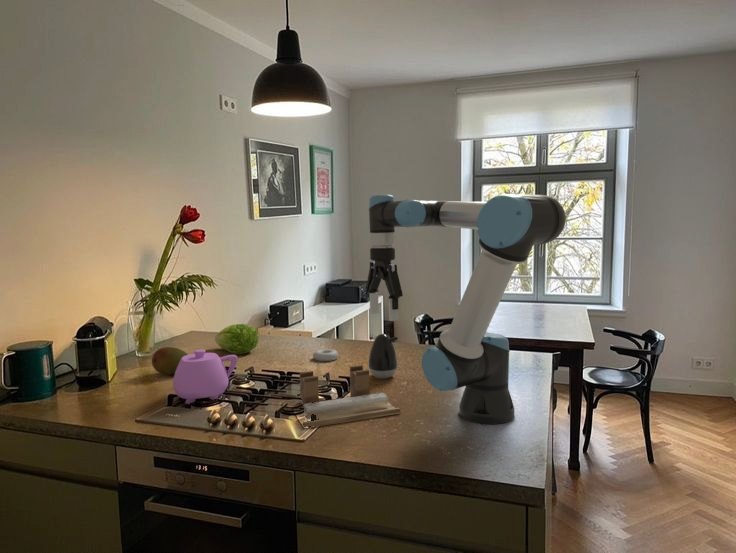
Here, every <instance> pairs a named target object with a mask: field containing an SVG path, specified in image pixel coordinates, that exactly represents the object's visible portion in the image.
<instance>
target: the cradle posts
mask: <svg viewBox="0 0 736 553" xmlns="http://www.w3.org/2000/svg"><path fill="white" fill-rule="evenodd" d="M349 383H350V384H349V389H350V390H349V394H350V397H356V396H363V395H370V369H364V365H362V364H360V365H353V366H351V365H350V366H349ZM319 391H320V390H319V376H318V375H314V371H313V370H310V371H303V372H299V392H300V393H299V394H300V396H299V397H300V398H301V399H302V402H303V404H306V403H312V402H314V401H319V400H320V399H319V398H320V393H319ZM319 402H320V401H319Z"/></svg>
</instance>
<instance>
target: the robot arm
mask: <svg viewBox="0 0 736 553" xmlns="http://www.w3.org/2000/svg"><path fill="white" fill-rule="evenodd" d="M368 214H369V215H368V217H369V246H370V247H371V248H370V249H369V252H370V254H369V256H370V257H369V258H370V260H371V261H370V262H369V270H368V276H367V282H366V287H365V290H366V291H368V292H367V293H369V314H370V315H375V314H379V313H380V310H379V304H380V303H379V292H380V291H379V287H380V284H381V282H382V281H384V284H385V286H386V288H387V292H388V293H389V296H388V315H389V316H388V321H393V322H394V321H399V316H400V315H399V314H400V313H399V299H400V297H403V295H404V294H403V290H402V286H401V282H400V278H399V277H400V276H399V274H398V265H397V263H393V264H392V261H394V260H396V248H395V247H394V246H396V242H395V241H396V240H395V239H396V234H395V228H418V227H419V228H420V227H442V228H457V229H467V230H468V229H469V230H476V231H477V235H478V237H479V240H478V246H479V248H480V249H481V252H480V254H479V256H478V259H477V261H476V264H475V266H474V269H473V271H472V274H471V276H470V278H469V280H468V283H467V285H466V288H465V291H464V292H463V295H462V298H461V300H460V303H459V304H458V308H457V310H456V311H455V314H454V317H453V319H452V321H451V324H450V327H449V328H447V329H445V330H443V331H442V332H441V333H440V335H439V337H438V340H437V342H436V344H435V346H429V347H428V348H426V349H425V350H424V352H423V353H422V356H421V368H422V371H423V375H424V377H425V379H426V381H427V382H428V383H429V385H430V386H431V387H432V388H433V389H435V390H437V391H440V392H446V391H447V392H448V391H454V390H457V389H460V388H463V387H465V388H464V390H463V392H462V396H461V400H460V402H459V407H458V409H459V410H458V411H459V412H458V413H459V415H460V417H462V418H463V419H465V420H467V421H470V422H474V423H476V424H485V425H486V424H487V425H499V424H505V423H509V422H510V421H512V420H513V419H515V406H514V402H513V399H512V396H511V392H510V389H509V377H510V376H509V373H510V371H509V370H510V369H509V368H510V366H509V364H510V344H509V342H510V341H509V339H508V338H507V336H505V335H502V334H499V333H495V332H494V333H493V332H488V331H487V330H488V329H489V326H490V324H491V322H492V319H493V317H494V315H495V314H496V311H497V309H498V307H499V304H500V303H501V299H502V297H503V296H504V293H505V291H506V289H507V287H508V285H509V283H510V281H511V278H512V276H513V274H514V271H515V270H516V268H517V265H519V264H523V263H525V262H527V259H528V257H529V255H530V253H531V251H532V249H533V247H534V246H540V245H546V244H549V243H551V242H553V241H555V240H556V239H557V238H559V237H560V235H561V234H562V232H563V231H564V228H565V226H566V221H567V220H566V219H567V218H566V217H567V215H566V212H565V209H564V207H563V205H562V204H561V203H560V202H559V201H558V200H557V199H556V198H554V197H551V196H549V195H545V194H523V193H522V194H521V193H505V194H500V195H495V196H493V197H491V198H489V200H487V201H461V200H460V201H459V200H457V201H455V200H452V201H451V200H448V201H447V200H417V199H404V200H403V199H402V200H395V197H394V196H393V195H392V194H379V195H378V194H377V195H371V196H370V197H369V203H368Z"/></svg>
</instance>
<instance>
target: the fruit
mask: <svg viewBox="0 0 736 553" xmlns="http://www.w3.org/2000/svg"><path fill="white" fill-rule="evenodd" d="M186 355H189V354H188V353H187V352H186V351H184V350H183V349H180V348H177V347H174V346H172V347H171V346H167V347H165V346H164V347H161V348H159V349H156V351H155V352H154V353H153V355H152V358H151V365H152V367H153V369H154V370H155V372H157V373H160V374H163V375H175V372H176V369H177V367H178V364H179V362H180V360H181V358H182V357H183V356H186Z"/></svg>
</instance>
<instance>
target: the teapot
mask: <svg viewBox="0 0 736 553" xmlns="http://www.w3.org/2000/svg"><path fill="white" fill-rule="evenodd" d="M238 359H239V358H238V356H237V354H229V355H224V356H221V357H220V356H219V355H218V354H217V353H215V352H206V350H205V349H201V348H200V349H196V350H194V351H193V353H191V354H188V355H186V356H183V357H182V358H181V360H180V362H179V364H178V367H177V369H176V372H175V374H173V381H172V382H173V383H172V388H173V391H174V392H175V394H176V395H177V396H178V397H179V398H181V399H185V402H184V404H185V405H191V404H190V403H192V402H194V401H195V402H196V399H204V398H209V400H210V399H216V398H218V397H219V398H220V396H219V395H222V394H224V392H225V391H226V389H227V388H228V385H229V377H230V376H231V374H232V372H233V371H234V370H235V368H236V366H237V363H238ZM227 360H229V361H230V365H229V368H228V370H227V368H226V366H225V364H224V361H227Z"/></svg>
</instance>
